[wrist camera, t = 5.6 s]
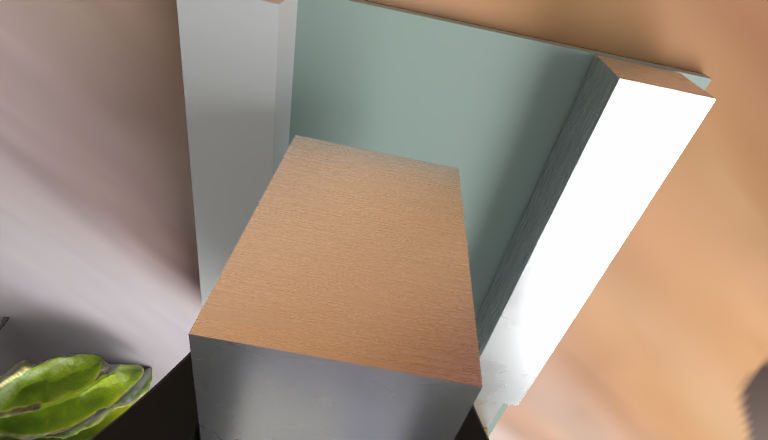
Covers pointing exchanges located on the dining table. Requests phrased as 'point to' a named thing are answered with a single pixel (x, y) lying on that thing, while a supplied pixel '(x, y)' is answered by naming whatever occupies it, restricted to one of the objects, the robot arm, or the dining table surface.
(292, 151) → the steel block
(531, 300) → the block
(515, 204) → the vise base
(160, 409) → the robot arm
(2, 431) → the green leafy plant
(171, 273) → the dining table surface
